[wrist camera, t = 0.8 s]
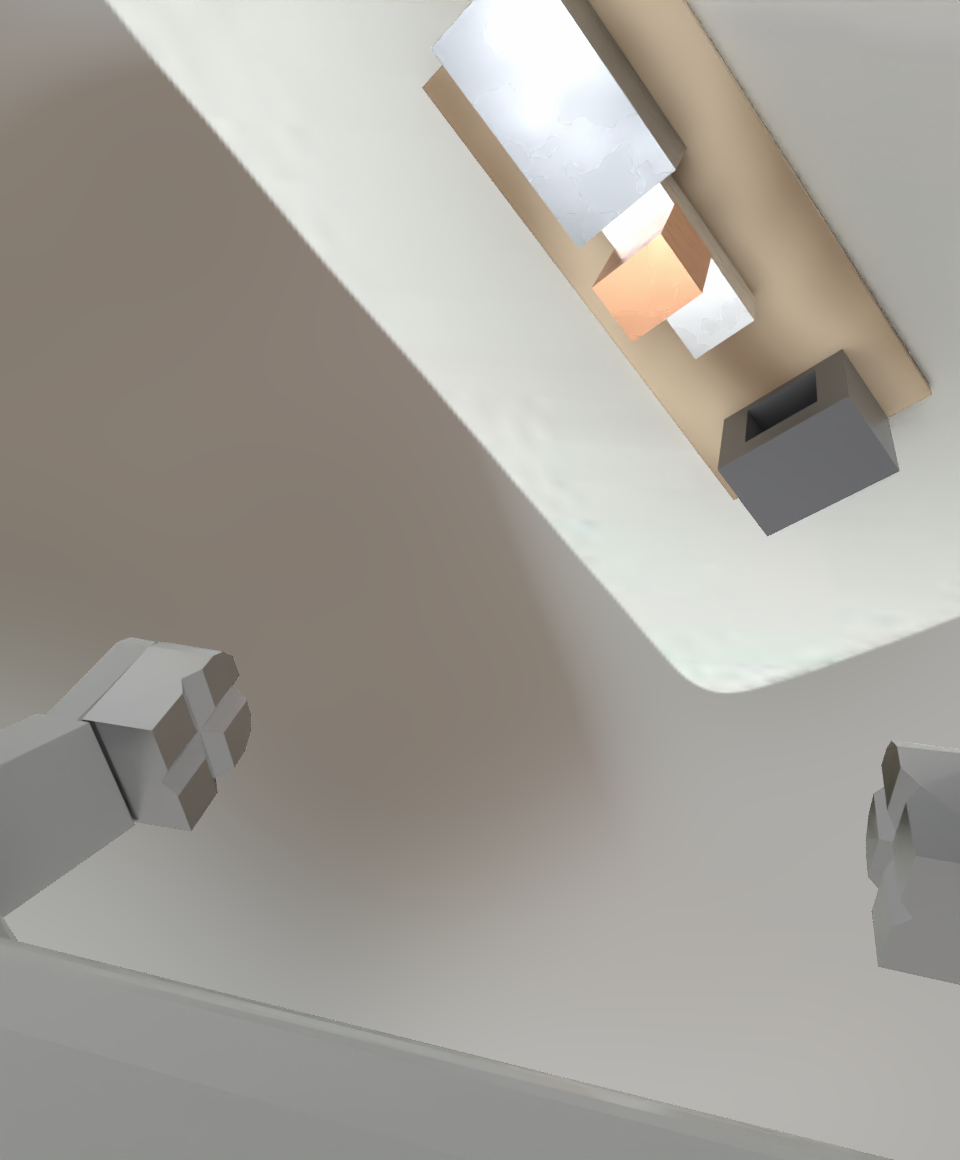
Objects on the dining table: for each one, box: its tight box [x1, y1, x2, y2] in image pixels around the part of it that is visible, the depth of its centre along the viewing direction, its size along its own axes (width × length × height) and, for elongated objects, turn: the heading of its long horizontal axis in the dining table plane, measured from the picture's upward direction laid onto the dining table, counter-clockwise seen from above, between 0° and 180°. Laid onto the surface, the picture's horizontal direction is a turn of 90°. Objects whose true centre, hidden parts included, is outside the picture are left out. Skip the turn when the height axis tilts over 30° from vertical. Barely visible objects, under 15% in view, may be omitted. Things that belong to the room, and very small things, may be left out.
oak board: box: [422, 0, 932, 500], centre depth 38 cm, size 10×24×1 cm, turn 42°
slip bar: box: [592, 174, 756, 359], centre depth 33 cm, size 3×15×8 cm, turn 43°
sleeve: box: [431, 0, 687, 248], centre depth 33 cm, size 5×9×5 cm, turn 43°
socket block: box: [717, 349, 899, 536], centre depth 38 cm, size 6×4×5 cm, turn 132°
